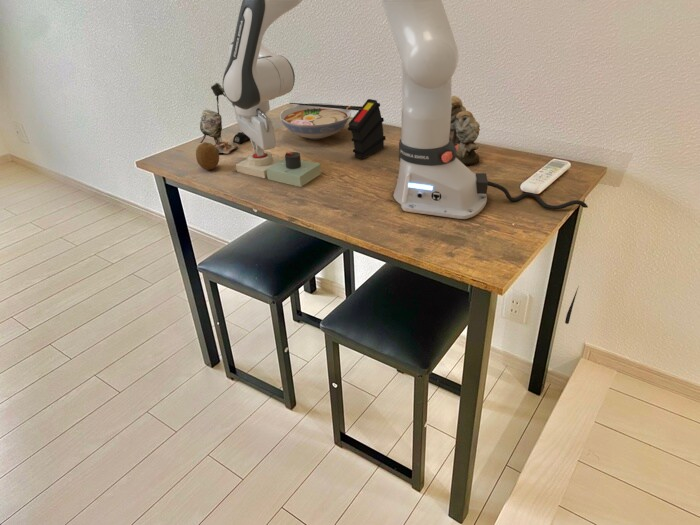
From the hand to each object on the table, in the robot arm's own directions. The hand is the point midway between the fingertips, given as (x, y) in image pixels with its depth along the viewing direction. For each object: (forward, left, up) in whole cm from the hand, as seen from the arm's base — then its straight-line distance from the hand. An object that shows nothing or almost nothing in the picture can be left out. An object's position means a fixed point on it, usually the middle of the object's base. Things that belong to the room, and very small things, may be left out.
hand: (259, 154), depth 144 cm
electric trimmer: (+19, -19, -5) cm, 28 cm away
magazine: (-21, -23, -5) cm, 32 cm away
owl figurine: (-43, -31, -5) cm, 53 cm away
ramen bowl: (+1, -29, -5) cm, 30 cm away
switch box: (0, 0, -4) cm, 4 cm away
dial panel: (-12, 0, -4) cm, 12 cm away
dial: (-12, 0, -1) cm, 12 cm away
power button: (0, 0, -2) cm, 2 cm away
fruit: (+13, +7, -5) cm, 15 cm away
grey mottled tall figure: (+21, -5, -5) cm, 22 cm away
